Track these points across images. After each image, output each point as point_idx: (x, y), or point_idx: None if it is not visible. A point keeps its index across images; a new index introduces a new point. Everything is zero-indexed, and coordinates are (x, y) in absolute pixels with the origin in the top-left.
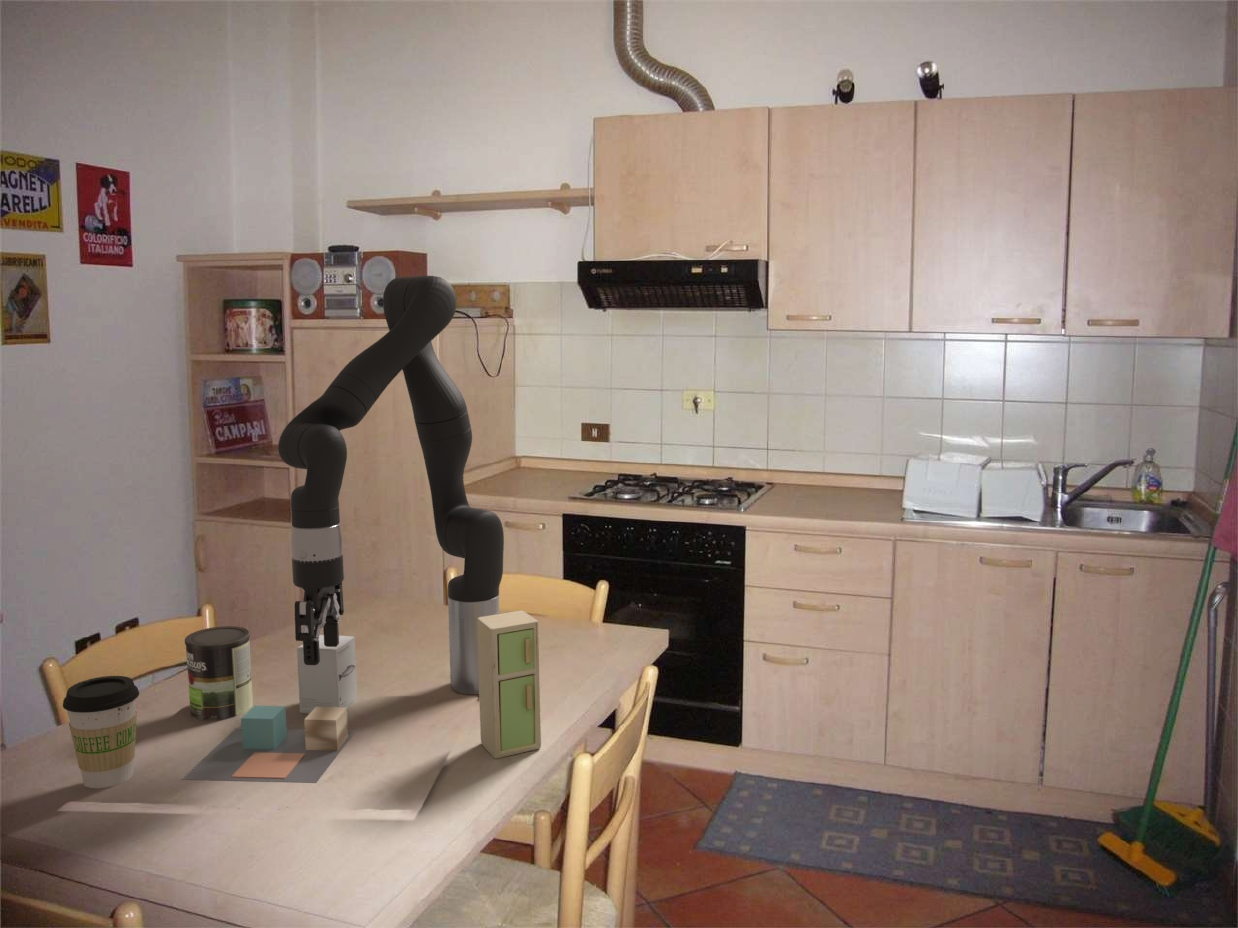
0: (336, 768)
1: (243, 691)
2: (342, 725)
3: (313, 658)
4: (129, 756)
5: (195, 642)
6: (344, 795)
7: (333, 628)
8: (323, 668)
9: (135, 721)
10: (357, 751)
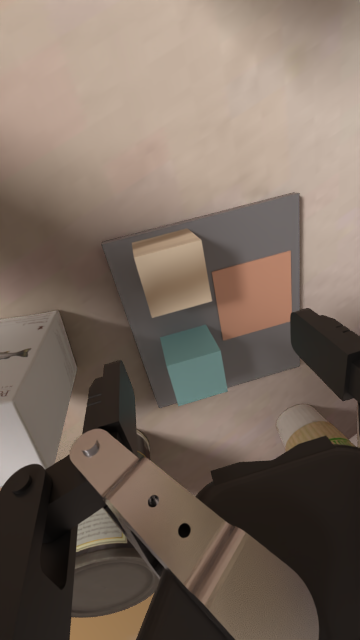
0: (223, 202)
1: None
2: (161, 243)
3: (336, 321)
4: (318, 426)
5: (148, 585)
6: (310, 128)
7: (123, 417)
8: (42, 392)
9: None
10: (156, 203)
